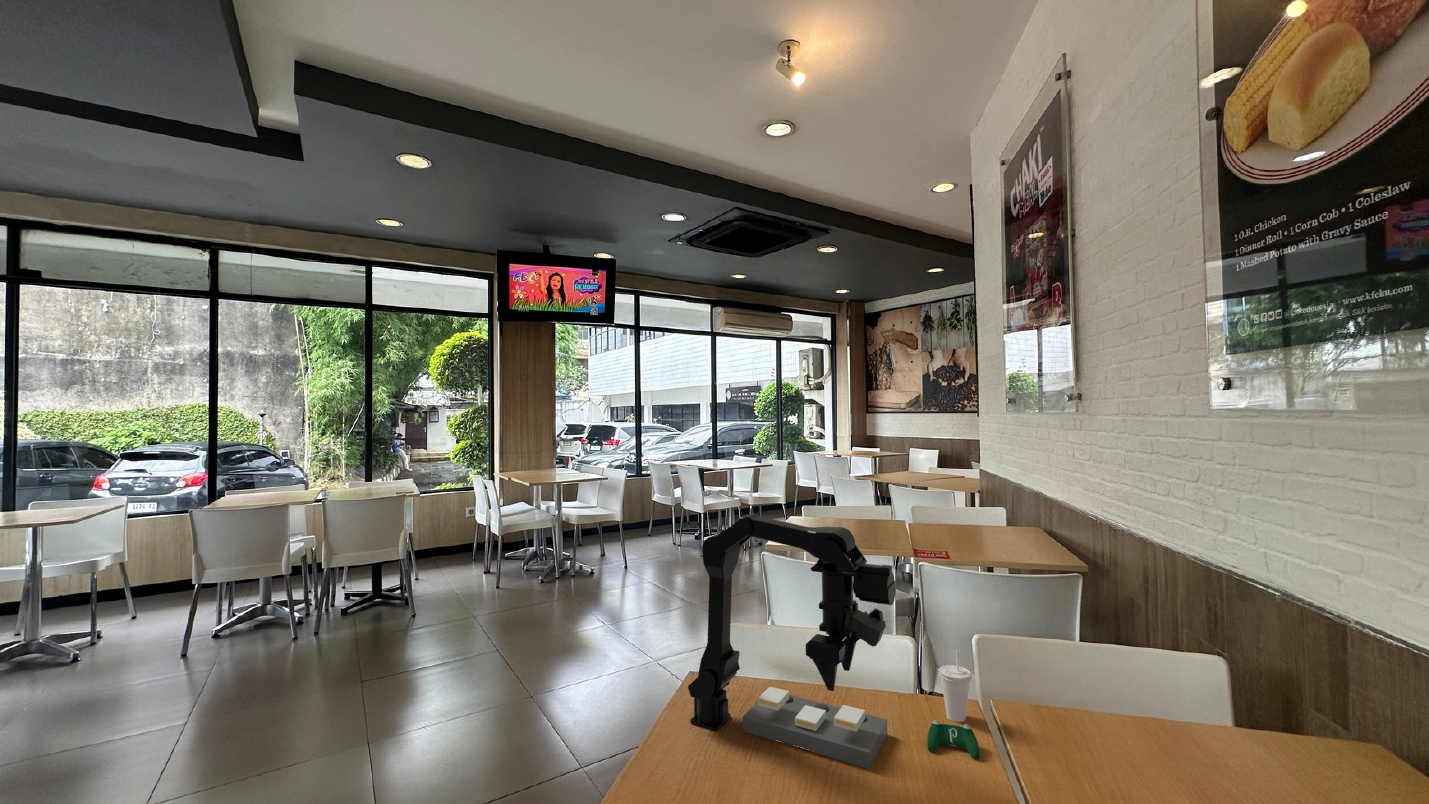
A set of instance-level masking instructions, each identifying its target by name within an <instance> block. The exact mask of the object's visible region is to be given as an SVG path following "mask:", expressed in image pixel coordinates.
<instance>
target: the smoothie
mask: <svg viewBox="0 0 1429 804" xmlns="http://www.w3.org/2000/svg"><path fill="white" fill-rule="evenodd" d="M955 663H956V664H955V665H954V664H953V665H952V664H947V665H942V666H940V668H939V669H938V671H939V672H938V675H939V677H940V679H941V684H942V685H941V686H942V693H943V699H944V706H945V707H944V708H945V713H946V715H945V716H946V717H947V719H948V720H950V721H952V722H955V723H962V722H965V721H966V720H967V719H966V718H967V707H968V701H969V693H970V691H969V690H970V682H971V681H972V679H973V678H972V672H971V671H970V670H969V669H967V668H965V667H962V666H960V651H959V650H955Z"/></svg>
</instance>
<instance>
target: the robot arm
mask: <svg viewBox="0 0 1429 804" xmlns="http://www.w3.org/2000/svg"><path fill="white" fill-rule="evenodd" d="M751 538H756V539H759V540H760V539H761V540H764V541H768V542H772V543H776V544H781V545H784V546H790V547H794V548H797V549H800V550H803V551H805V552H807V553H808V554H810V555H811V556H812V557H814V558H815V559H818V560H817V561H816V563H815V564H814V565H813V566H811V567H810V571H811V572H814V573H815V572H816V573H821V594H822V595H821V600H820V602H819V603H818V610H821V611H822V612H821V614H822V622H821V623H820V624H819V625H818V631H819V632H823V633H824V632H825V634H819V633H816V634H814V636H813V637H811V639H809V640H808V641H807V642H806V643H805V656H806V657H808V658H809V659H810V660H812V662H813V664H814V665H815V666H816V668H817V671H818V672H819V675H820V677H821V679H822V680H823V683H824V685H825V687H826V689H827V690H828V691H830V692H833V691H835V688H836V687H835V686H836V680H837V672H838V666H839V664H841V666H842V669H843V671H846V672H849V671H850V670H851V666H852V661H853V658H854V654H855V649H856V645H857V642H859V641H860V640H862V641H864V642H866V644H867V645H869V646H871V647H876V646H877V645H878V643H879V642H880V641H881V639H882V637H883V634H884V632H885V629H886V628H887V624H886V623H887V621H885V619H884V614H883V611H882V610H880V609H878V608H874V609H872V610H871V611H870V612H869V613H868V611H867V610H865V611H864V612H863V611H861V610H859V603H858V602H857V600H855V599H854V596H855V598H857V599H858V600H859V601H860V602H867V603H872V604H879V605H886V606H893V605H894V603H895V598H896V592H897V591H896V590H897V581H896V580H895V575H894V573H893V567H892V566H891V565H889V564H881V565H880V564H872V563H868V560H867V559H866V557H865V556H864V554H863V553H862V552H861V550H860V548H859V547H858V546H857V544H856V539H855V537H854V535H853V534H852V532H851V531H850V530H849V529H847V528H845V527H843V526H816V527H815V526H814V527H813V526H806V525H800V524H795V523H791V522H786V521H783V520H778V519H773V518H770V517H764V516H760V515H757V514H756V513H749V514H747V515H743V516H742V517H740V518H739V519H738V520H736V522H734V523H733V524H731V525H730V526H729V527H727V528H726V529H724V530H723V531H721V532H719V533H716V534H714V535H711V536H708V537H707V538H706V539H704V540H703V542H702V546H701V552H702V553H701V555H702V562H703V567H704V568H705V570H706V572H707V575H708V579H709V580H708V604H707V605H708V607H707V609H708V611H707V612H708V614H707V639H706V640H707V641H706V646H705V648H704V651H703V654H702V656H701V659H700V663H699V668H698V676H697V677H696V678H695V679H694V680H693V681H691V683H690V684H689V685H688V686H687V689H688V692H689V695H690V697H691V698H693V715H694V716H693V717H692V718H690V719H689V722H690V723H691V724H693V725H696V726H700V727H702V728H706V729H710V730H712V731H717V730H719V728H721V727H722V726H723V725H724V723H726V722H727V721H728V720H729V719H730V718H731V713H730V712H729V698H727V690H726V689H725V687H727V686H729V684H730V683H731V681H732V680H733V679H734V678H735V677H736V676H737V673H738V671H739V670H741V667H740V664H739V658H740V656H741V655H740V650H736V649H735V650H734V648H733V646H732V644H731V615H732V586H733V585H732V582H733V581H732V580H733V574H734V572H735V569H736V567H737V565H738V561H739V557H740V552H741V546H743V545H744V544H745V543H747V541H749V540H750V539H751Z"/></svg>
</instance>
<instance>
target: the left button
mask: <svg viewBox="0 0 1429 804" xmlns="http://www.w3.org/2000/svg"><path fill="white" fill-rule="evenodd" d="M789 695H790V690H785V689H781V688H778V687H774V686H769V687H767V689H765V690H764V692H762V694H761V695H760V696H759V697H758V699H757V700H758V701H757V702H758V705H759V706H763V707H767V708H770V709H774V710H779V709H780V708H781V707H782V706H783V705H784V704H785V703H786V701H787V700H788V699H789Z"/></svg>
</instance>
